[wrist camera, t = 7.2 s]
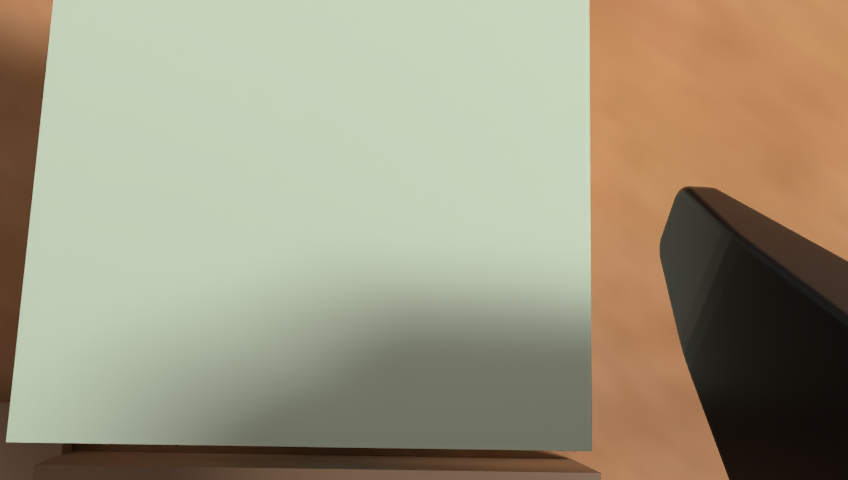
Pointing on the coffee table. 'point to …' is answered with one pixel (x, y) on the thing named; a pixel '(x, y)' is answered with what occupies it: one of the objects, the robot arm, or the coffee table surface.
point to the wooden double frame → (262, 465)
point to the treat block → (310, 226)
